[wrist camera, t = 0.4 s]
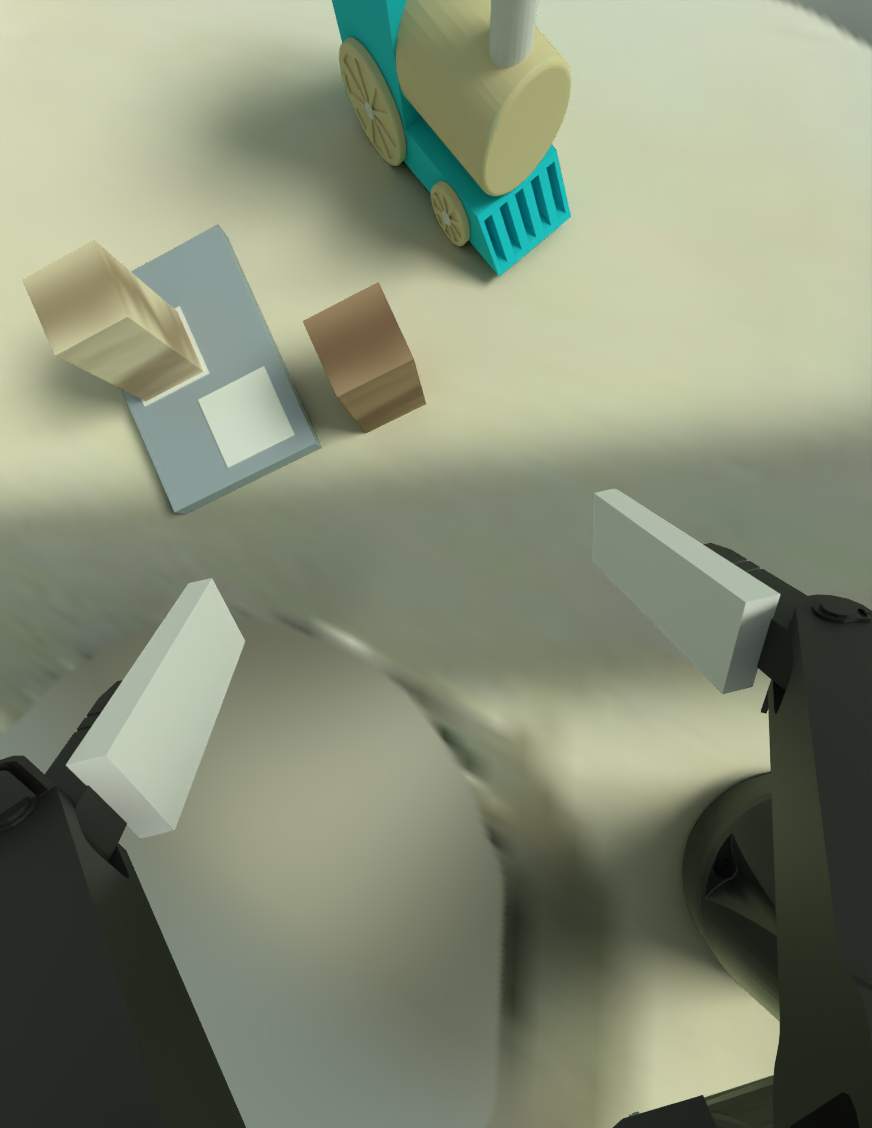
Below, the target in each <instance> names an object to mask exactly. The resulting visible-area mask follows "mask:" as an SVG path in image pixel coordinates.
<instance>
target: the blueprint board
mask: <svg viewBox="0 0 872 1128" xmlns="http://www.w3.org/2000/svg"><path fill="white" fill-rule="evenodd" d="M131 272H132V273H133V274H134V275H135V276H136V277H138V278H139V279H140V280H141V281H142V282H143V283H145V284H146V285H147V286H148V287H149V288H150V289H152V290H153V291H154V292H155V293H156V294H157V295H159V296H160V297H161V298H162V299H163V300H164V301H166V302H167V303H168V304H169V305H170V306H171V307H173V308H174V309H175V310H176V311H177V312H178V314H179V317H180V319H181V321H182V323H183V326H184V328H185V330H186V332H187V335H188V337H189V339H190V341H191V344H192V346H193V348H194V350H195V353H196V355H197V357H198V359H199V362H200V364H201V366H202V369H203V371H204V372H202V373H200V374H198V375H196V376H194V377H192V378H190V379H188V380H186V381H185V382H183V383H181V384H179V385H177V386H175V387H173V388H171V389H169V390H167V391H165V392H163V393H161V394H159V395H157V396H156V397H154V398H152V399H150V400H148V401H145V400H143V399H141V398H139V397H137V396H135V395H133V394H131V393H129V392H127V391H125V390H123V389H121V390H122V393H123V395H124V397H125V400H126V402H127V404H128V406H129V409H130V411H131V413H132V416H133V418H134V420H135V423H136V425H137V427H138V429H139V432H140V434H141V436H142V439H143V441H144V443H145V445H146V448H147V450H148V452H149V455H150V457H151V459H152V462H153V464H154V466H155V468H156V471H157V473H158V475H159V478H160V480H161V482H162V485H163V487H164V489H165V491H166V494H167V496H168V498H169V501H170V503H171V505H172V507H173V510H174V512H176V513H182V514H187V513H189V512H191V511H193V510H195V509H197V508H199V507H201V506H203V505H205V504H207V503H209V502H211V501H213V500H215V499H217V498H219V497H221V496H223V495H225V494H227V493H230V492H232V491H234V490H236V489H238V488H240V487H242V486H244V485H246V484H248V483H250V482H252V481H254V480H256V479H258V478H260V477H262V476H264V475H266V474H268V473H270V472H272V471H274V470H277V469H279V468H281V467H283V466H285V465H287V464H289V463H291V462H293V461H295V460H297V459H299V458H301V457H303V456H305V455H307V454H309V453H311V452H313V451H315V450H317V449H319V448H321V444H320V442H319V440H318V438H317V435H316V433H315V431H314V429H313V426H312V424H311V422H310V420H309V418H308V415H307V413H306V411H305V409H304V406H303V404H302V402H301V400H300V398H299V395H298V393H297V391H296V389H295V386H294V384H293V382H292V380H291V377H290V375H289V373H288V371H287V369H286V366H285V364H284V362H283V360H282V357H281V355H280V353H279V351H278V349H277V346H276V344H275V342H274V340H273V337H272V335H271V333H270V331H269V328H268V326H267V324H266V322H265V320H264V317H263V315H262V313H261V311H260V308H259V306H258V304H257V302H256V299H255V297H254V295H253V293H252V291H251V288H250V286H249V284H248V282H247V279H246V277H245V275H244V273H243V271H242V268H241V266H240V264H239V262H238V259H237V257H236V255H235V253H234V250H233V248H232V246H231V244H230V242H229V239H228V237H227V236H226V234H225V233H224V232H223V230H222V229H221V228H220V226H219V225H216V226H214V227H212V228H210V229H209V230H207V231H205V232H203V233H201V234H199V235H198V236H196V237H194V238H192V239H190V240H188V241H187V242H185V243H183V244H181V245H179V246H177V247H176V248H174V249H172V250H170V251H168V252H166V253H165V254H163V255H161V256H159V257H157V258H155V259H154V260H152V261H150V262H148V263H146V264H144V265H142V266H141V267H139V268H137V269H135V270H133V271H131Z"/></svg>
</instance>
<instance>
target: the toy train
mask: <svg viewBox="0 0 872 1128" xmlns="http://www.w3.org/2000/svg"><path fill="white" fill-rule="evenodd" d="M332 3H333V7H334V11H335V15H336V19H337V23H338V27H339V31H340V35H341V40H342V44H341V46H340V50H339V61H340V67H341V73H342V76H343V80H344V84H345V87H346V90H347V93H348V96H349V98H350V101H351V103H352V106H353V108H354V111H355V113H356V115H357V117H358V119H359V121H360V123H361V125H362V127H363V129H364V131H365V133H366V135H367V136H368V138H369V140H370V141H371V143H372V144H373V146H374V147H375V149H376V150H377V152H378V153H379V154H380V155H381V157H382V158H383V159H384V160H385V161H386V162H387V163H389V164H390V165H392V166H398V165H399V164H401V163H402V162H403V161H404V162H405V163H406V165H407V166H408V167H409V168H410V169H411V171H412V172H413V173H414V174H415V176H416V177H417V178H418V179H419V180H420V182H421V183H422V184H423V185H424V186H425V188H426V189H427V190H428V191H429V193H430V194H431V202H432V206H433V209H434V212H435V215H436V218H437V220H438V222H439V224H440V226H441V228H442V229H443V231H444V233H445V234H446V236H447V237H448V238H449V239H450V240H451V241H452V242H453V243H454V244H455V245H457V246H463V245H464V244H465V243H466V242H467V241H468V240H469V241H470V242H471V243H472V245H473V246H474V247H475V248H476V250H477V251H478V252H479V253H480V254H481V256H482V257H483V258H484V259H485V260H486V262H487V263H488V264H489V265H490V266H491V268H492V269H493V270H494V271H495V273H496V274H497V275H498V276H500V275H501V274H503V273H504V272H505V271H506V270H507V269H509V268H510V267H511V266H512V265H513V264H515V263H516V262H517V261H518V260H519V259H521V258H522V257H523V256H524V255H525V254H527V253H528V252H529V251H530V250H531V249H533V248H534V247H535V246H536V245H537V244H539V243H540V242H541V241H542V240H543V239H545V238H546V237H547V236H548V235H549V234H551V233H552V232H553V231H554V230H555V229H557V228H558V227H559V226H560V225H561V224H563V223H564V222H565V221H566V220H567V219H569V218H570V217H571V215H570V211H569V206H568V201H567V197H566V192H565V187H564V183H563V178H562V173H561V169H560V164H559V159H558V155H557V150H556V149H555V148H554V146H553V145H552V142H553V140H554V138H555V137H556V135H557V133H558V130H559V128H560V126H561V124H562V121H563V118H564V116H565V113H566V110H567V106H568V102H569V98H570V93H571V72H570V68H569V65H568V63H567V61H566V60H565V59H564V58H563V57H562V55H561V54H560V53H559V52H558V51H557V50H556V48H555V47H554V46H553V45H552V44H551V43H550V41H549V40H548V39H547V38H546V37H545V36H544V35H543V33H542V32H541V31H540V30H539V29H538V28H537V26H536V25H535V23H536V15H537V7H538V0H332Z"/></svg>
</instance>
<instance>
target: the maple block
mask: <svg viewBox="0 0 872 1128" xmlns="http://www.w3.org/2000/svg"><path fill="white" fill-rule="evenodd" d="M22 281H23V283H24V285H25V288H26V290H27V292H28V295H29V297H30V299H31V301H32V304H33V306H34V308H35V311H36V313H37V315H38V318H39V320H40V322H41V325H42V327H43V329H44V332H45V334H46V336H47V339H48V341H49V343H50V345H51V348H52V350H53V352H54V355H55V356H56V357H58V358H60V359H62V360H64V361H66V362H68V363H70V364H72V365H74V366H76V367H78V368H80V369H82V370H84V371H86V372H88V373H90V374H92V375H95V376H97V377H99V378H101V379H103V380H105V381H107V382H109V383H111V384H113V385H115V386H117V387H119V388H121V389H123V390H125V391H127V392H129V393H131V394H133V395H135V396H137V397H139V398H141V399H143V400H145V401H148V400H150V399H152V398H154V397H156V396H157V395H159V394H161V393H163V392H165V391H167V390H169V389H171V388H173V387H175V386H177V385H179V384H181V383H183V382H185V381H186V380H188V379H190V378H192V377H194V376H196V375H198V374H200V373H202V372H204V371H203V369H202V366H201V364H200V362H199V359H198V357H197V355H196V353H195V350H194V348H193V346H192V344H191V341H190V339H189V337H188V335H187V332H186V330H185V328H184V326H183V323H182V321H181V319H180V317H179V314H178V312H177V311H176V310H175V309H174V308H173V307H171V306H170V305H169V304H168V303H167V302H166V301H164V300H163V299H162V298H161V297H160V296H159V295H157V294H156V293H155V292H154V291H153V290H152V289H150V288H149V287H148V286H147V285H146V284H145V283H143V282H142V281H141V280H140V279H139V278H138V277H136V276H135V275H134V274H133V273H132V272H131V271H130V270H128V269H127V268H126V267H125V266H124V265H123V264H121V263H120V262H119V261H118V260H117V259H116V258H114V257H113V256H112V255H111V254H110V253H109V252H107V251H106V250H105V249H104V248H103V247H102V246H100V245H99V244H98V243H97V242H96V241H95V240H93V241H91V242H90V243H88V244H86V245H84V246H82V247H81V248H79V249H77V250H75V251H73V252H72V253H70V254H68V255H66V256H64V257H62V258H61V259H59V260H57V261H55V262H53V263H52V264H50V265H48V266H46V267H44V268H43V269H41V270H39V271H37V272H35V273H34V274H32V275H30V276H28V277H26V278H25V279H23V280H22Z"/></svg>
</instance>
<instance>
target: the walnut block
mask: <svg viewBox="0 0 872 1128" xmlns="http://www.w3.org/2000/svg"><path fill="white" fill-rule="evenodd" d="M303 323H304V325H305V327H306V330H307V332H308V334H309V336H310V339H311V341H312V343H313V345H314V347H315V350H316V352H317V354H318V356H319V358H320V361H321V363H322V365H323V367H324V370H325V372H326V374H327V376H328V378H329V381H330V383H331V385H332V387H333V389H334V392H335V394H336V396H337V398H338V399H339V400H340V402H341V403H342V404H343V405H344V407H345V408H346V409H347V410H348V412H349V413H350V414H351V415H352V417H353V418H354V419H355V420H356V422H357V423H358V424H359V425H360V426H361V428H362V429H363V430H364V431H365V433H368V432H370V431H372V430H374V429H376V428H378V427H380V426H382V425H384V424H386V423H388V422H390V421H392V420H394V419H396V418H398V417H400V416H402V415H405V414H407V413H409V412H411V411H413V410H415V409H417V408H419V407H421V406H423V405H425V404H426V402H425V398H424V395H423V391H422V387H421V384H420V380H419V376H418V373H417V369H416V365H415V362H414V358H413V356H412V354H411V352H410V350H409V348H408V345H407V343H406V341H405V339H404V337H403V334H402V332H401V330H400V328H399V326H398V324H397V321H396V319H395V317H394V315H393V313H392V311H391V308H390V306H389V304H388V302H387V300H386V297H385V295H384V293H383V291H382V289H381V287H380V284H379V282H378V283H376V284H374V285H372V286H370V287H368V288H366V289H364V290H362V291H360V292H358V293H356V294H355V295H353V296H351V297H349V298H347V299H345V300H343V301H341V302H339V303H337V304H335V305H333V306H331V307H329V308H327V309H325V310H324V311H322V312H320V313H318V314H316V315H314V316H312V317H310V318H308V319H306V320H304V321H303Z"/></svg>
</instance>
